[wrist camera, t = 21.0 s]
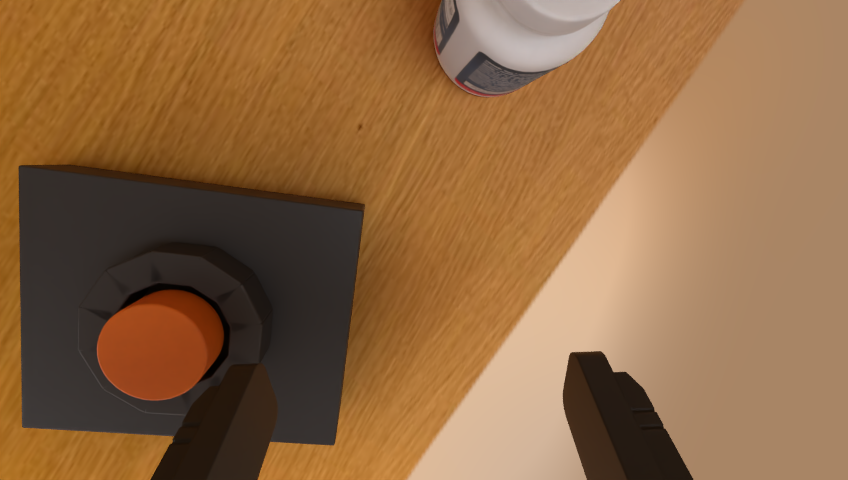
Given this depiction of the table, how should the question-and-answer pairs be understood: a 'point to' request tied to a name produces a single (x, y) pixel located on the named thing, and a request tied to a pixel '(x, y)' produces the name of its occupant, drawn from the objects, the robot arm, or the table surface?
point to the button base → (189, 271)
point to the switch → (160, 344)
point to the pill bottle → (512, 39)
